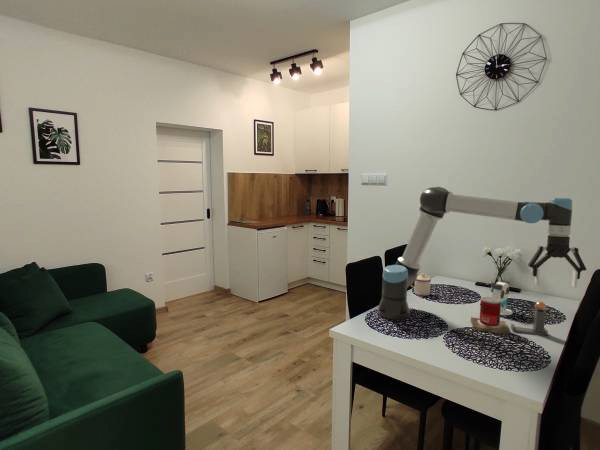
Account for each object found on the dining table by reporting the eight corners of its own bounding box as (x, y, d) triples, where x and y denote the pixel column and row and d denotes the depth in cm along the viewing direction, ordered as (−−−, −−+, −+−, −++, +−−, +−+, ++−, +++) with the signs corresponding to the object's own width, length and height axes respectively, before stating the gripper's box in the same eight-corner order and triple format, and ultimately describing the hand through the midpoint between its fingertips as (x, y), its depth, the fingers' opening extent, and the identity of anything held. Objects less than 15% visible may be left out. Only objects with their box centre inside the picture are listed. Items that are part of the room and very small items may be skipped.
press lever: (534, 331, 158) (536, 302, 156) (531, 328, 162) (534, 299, 160) (545, 332, 157) (547, 303, 155) (542, 329, 160) (544, 301, 159)
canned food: (501, 327, 161) (503, 302, 160) (482, 325, 163) (483, 301, 161) (496, 320, 168) (497, 297, 167) (477, 319, 170) (479, 296, 169)
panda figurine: (507, 317, 178) (509, 287, 176) (483, 311, 186) (485, 282, 185) (515, 311, 186) (518, 282, 184) (492, 305, 195) (494, 278, 193)
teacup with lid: (432, 293, 215) (433, 273, 214) (426, 296, 209) (427, 276, 207) (413, 289, 223) (414, 270, 222) (406, 292, 217) (407, 273, 215)
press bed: (473, 329, 162) (473, 325, 162) (470, 320, 174) (471, 316, 173) (509, 334, 158) (509, 330, 157) (504, 324, 169) (504, 320, 169)
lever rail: (512, 331, 161) (513, 327, 161) (510, 328, 164) (511, 324, 164) (547, 336, 156) (547, 331, 156) (544, 332, 160) (545, 328, 160)
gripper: (527, 235, 153) (523, 285, 155) (599, 237, 145) (594, 290, 148) (522, 232, 160) (519, 280, 162) (590, 235, 153) (586, 285, 155)
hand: (555, 285), depth 155 cm, fingers open, 13 cm apart
